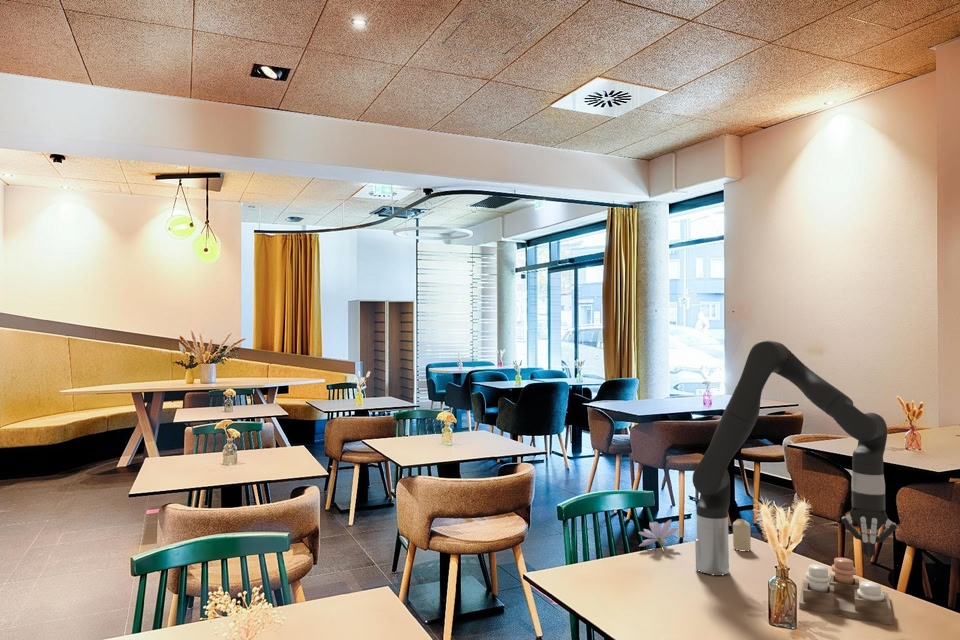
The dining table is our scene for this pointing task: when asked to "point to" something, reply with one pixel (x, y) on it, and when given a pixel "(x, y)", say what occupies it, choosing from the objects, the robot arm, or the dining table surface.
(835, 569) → the middle knob
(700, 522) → the robot arm
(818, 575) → the knob
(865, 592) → the knob
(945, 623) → the dining table surface
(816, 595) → the mount block
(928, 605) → the dining table surface
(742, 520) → the candle
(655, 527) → the water lily
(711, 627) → the dining table surface
